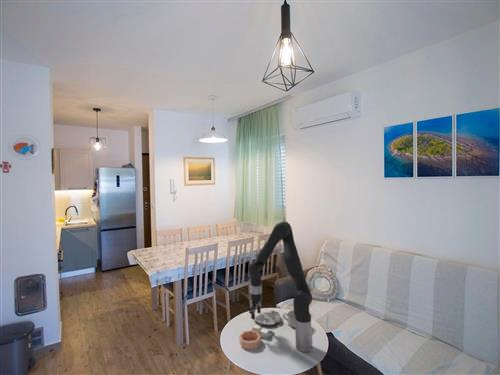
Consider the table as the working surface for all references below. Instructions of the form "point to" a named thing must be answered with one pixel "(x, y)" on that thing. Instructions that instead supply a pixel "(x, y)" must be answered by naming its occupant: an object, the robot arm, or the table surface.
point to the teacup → (290, 318)
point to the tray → (268, 336)
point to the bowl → (249, 340)
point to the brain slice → (268, 318)
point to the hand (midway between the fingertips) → (256, 315)
